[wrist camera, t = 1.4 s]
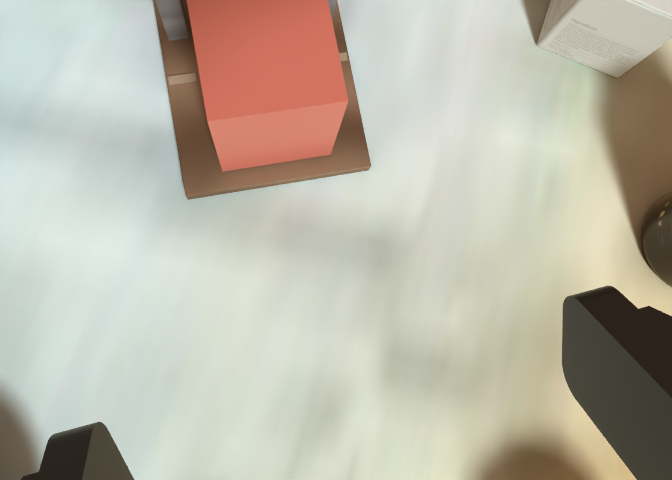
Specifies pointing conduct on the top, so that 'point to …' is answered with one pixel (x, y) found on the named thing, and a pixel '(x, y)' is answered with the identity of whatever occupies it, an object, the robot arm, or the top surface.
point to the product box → (606, 31)
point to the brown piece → (195, 133)
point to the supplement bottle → (659, 238)
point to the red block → (268, 79)
